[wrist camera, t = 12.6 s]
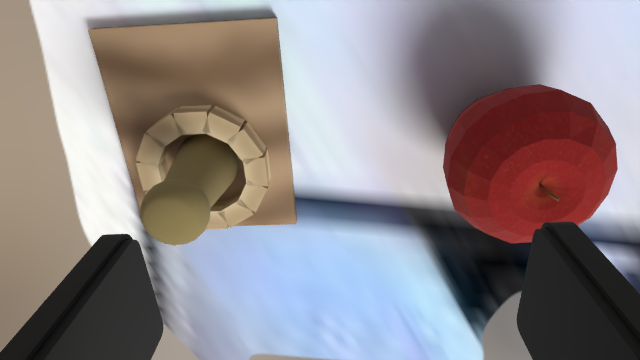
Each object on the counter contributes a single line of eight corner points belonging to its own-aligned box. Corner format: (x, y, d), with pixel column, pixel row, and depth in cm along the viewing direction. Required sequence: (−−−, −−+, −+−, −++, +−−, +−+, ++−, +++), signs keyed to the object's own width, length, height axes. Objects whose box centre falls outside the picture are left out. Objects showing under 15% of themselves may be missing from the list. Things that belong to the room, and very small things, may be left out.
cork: (182, 125, 40) (132, 177, 30) (245, 144, 40) (216, 202, 31) (172, 180, 42) (122, 244, 33) (231, 197, 43) (200, 266, 33)
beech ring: (132, 108, 39) (122, 115, 38) (261, 102, 39) (258, 109, 37) (161, 220, 45) (154, 230, 43) (275, 216, 44) (273, 226, 42)
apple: (507, 36, 36) (589, 71, 24) (583, 127, 40) (689, 197, 28) (400, 133, 40) (426, 203, 29) (478, 207, 44) (530, 298, 32)
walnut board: (94, 28, 37) (88, 29, 36) (277, 17, 36) (275, 18, 35) (149, 223, 46) (145, 228, 45) (296, 218, 45) (296, 224, 44)
